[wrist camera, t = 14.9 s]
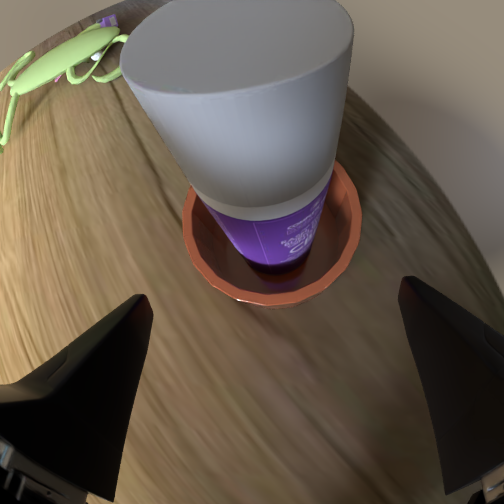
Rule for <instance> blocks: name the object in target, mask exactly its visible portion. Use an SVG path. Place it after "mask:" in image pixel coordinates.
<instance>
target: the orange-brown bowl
mask: <svg viewBox="0 0 504 504" xmlns="http://www.w3.org/2000/svg"><path fill="white" fill-rule="evenodd" d="M361 224H362V210H361V206H360V201H359V197H358V193H357V189H356V187H355V186H354V184H353V182H352V181H351V179H350V178H349V176H348V174H347V173H346V171H345V170H344V168H343V167H342V166H341V165H340V164H339V163H338V162H337V161H336V160H335V161H334V168H333V172H332V176H331V180H330V183H329V187H328V191H327V195H326V198H325V202H324V206H323V209H322V213H321V216H320V220H319V223H318V227H317V230H316V234H315V237H314V240H313V244H312V247H311V250H310V253H309V255H308V257H307V258H306V260H305V261H304V262H303V264H302V265H301V266H300V267H298V268H297V269H295V270H294V271H292V272H290V273H287V274H284V275H277V276H273V275H266V274H263V273H260V272H258V271H256V270H255V269H253V268H252V267H251V266H250V265H249V264H248V263H247V262H246V261H245V260H244V258H243V257H242V256H241V254H240V253H239V252H238V250H237V249H236V248H235V246H234V245H233V243H232V242H231V241H230V239H229V238H228V237H227V235H226V234H225V232H224V231H223V230H222V228H221V227H220V225H219V224H218V223H217V221H216V220H215V219H214V217H213V216H212V214H211V213H210V212H209V210H208V209H207V208H206V206H205V205H204V203H203V202H202V201H201V199H200V198H199V196H198V195H197V194H196V192H195V191H194V189H193V187H192V186H190V188H189V191H188V194H187V198H186V201H185V204H184V208H183V237H184V241H185V244H186V247H187V249H188V252H189V255H190V257H191V260H192V262H193V264H194V265H195V266H196V268H197V269H198V270H199V271H200V272H201V274H202V275H203V276H204V277H205V278H206V280H207V281H208V282H209V283H210V284H211V285H212V286H214V287H216V288H217V289H219V290H221V291H222V292H224V293H226V294H227V295H229V296H231V297H232V298H234V299H236V300H238V301H241V302H243V303H246V304H248V305H252V306H257V307H261V308H267V309H283V308H290V307H295V306H298V305H300V304H302V303H305V302H307V301H309V300H311V299H313V298H315V297H316V296H318V295H319V294H320V293H321V292H323V291H324V290H325V289H326V288H327V287H328V286H329V285H330V284H331V283H332V282H333V281H334V280H335V279H336V278H337V277H338V276H339V275H340V274H341V273H342V272H343V271H344V270H345V269H346V268H347V267H348V265H349V263H350V261H351V259H352V257H353V255H354V252H355V250H356V248H357V246H358V244H359V241H360V233H361Z"/></svg>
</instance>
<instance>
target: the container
mask: <svg viewBox="0 0 504 504" xmlns="http://www.w3.org/2000/svg"><path fill="white" fill-rule="evenodd" d="M353 37H354V26H353V22H352V19H351V17H350V15H349V14H348V12H347V11H346V10H345V9H344V8H343V7H342V6H341V5H340V4H339V3H338V2H337V1H335V0H173V1H171V2H169V3H168V4H166V5H164V6H163V7H161V8H159V9H158V10H156V11H155V12H154V13H152V14H151V15H150V16H148V17H147V18H146V19H145V20H144V21H142V22H141V23H140V24H139V25H138V26H137V27H136V29H135V30H134V31H133V32H132V33H131V34H130V36H129V37H128V39H127V40H126V42H125V44H124V46H123V48H122V51H121V55H120V70H121V73H122V75H123V77H124V78H125V80H126V81H127V83H128V85H129V86H130V88H131V90H132V91H133V93H134V94H135V96H136V98H137V99H138V101H139V103H140V104H141V106H142V107H143V109H144V111H145V112H146V114H147V116H148V117H149V119H150V120H151V122H152V124H153V125H154V127H155V128H156V130H157V132H158V133H159V135H160V136H161V138H162V140H163V141H164V143H165V144H166V146H167V148H168V149H169V151H170V152H171V154H172V155H173V157H174V159H175V160H176V162H177V163H178V165H179V167H180V168H181V170H182V171H183V173H184V174H185V176H186V178H187V179H188V181H189V182H190V184H191V186H192V187H193V189H194V191H195V192H196V194H197V195H198V196H199V198H200V199H201V201H202V202H203V203H204V205H205V206H206V208H207V209H208V210H209V212H210V213H211V214H212V216H213V217H214V219H215V220H216V221H217V223H218V224H219V225H220V227H221V228H222V230H223V231H224V232H225V234H226V235H227V237H228V238H229V239H230V241H231V242H232V243H233V245H234V246H235V248H236V249H237V250H238V252H239V253H240V254H241V256H242V257H243V258H244V260H245V261H246V262H247V263H248V264H249V265H250V266H251V267H252V268H253V269H255V270H256V271H258V272H260V273H263V274H266V275H273V276H277V275H284V274H287V273H290V272H292V271H294V270H295V269H297V268H298V267H300V266H301V265H302V264H303V262H304V261H305V260H306V258H307V257H308V255H309V253H310V250H311V247H312V244H313V240H314V237H315V234H316V230H317V227H318V223H319V220H320V216H321V213H322V209H323V206H324V202H325V198H326V195H327V191H328V187H329V183H330V180H331V176H332V172H333V168H334V161H335V156H336V150H337V145H338V140H339V134H340V128H341V122H342V116H343V110H344V104H345V98H346V91H347V84H348V76H349V70H350V63H351V55H352V45H353Z"/></svg>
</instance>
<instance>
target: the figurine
mask: <svg viewBox="0 0 504 504" xmlns="http://www.w3.org/2000/svg"><path fill="white" fill-rule="evenodd" d="M117 26H118V23H117V20H116V16H115V14H114V15H111V16H108V17H105V18H101V19H99V20H97V23H96V24H93V25H91V26H89V27H88V28H87V29H85V30H84V31H83V32H81V33H80V34H78V36H76V37H74V38H72V39H70V40H68V41H66V42H64V43H62V44H61V45H59V46H57V47H55V48H54V49H52V50H50V51H49V52H47V53H46V54H45V55H43V56H42V57H41V58H39V59H38V60H37V61H35V62H34V63H33V64H32V65H31V66H30V67H28V68H27V69H26V70H25V71H24V72H23V73H22V74H21V75H20V76H19V77H18V79H16V80H15V78H16V76H17V74H18V73H19V71H20V70H21V69H22V68H23V67H24V66H26V65H27V64H28V63H29V62H30V61H32V59H33V58H34V57H35V52H34V51H30V52H28V53H27V54H25V55H24V56H23V57H21V58H20V59H19V60H18V61H17V62H16V64H15V65H14V66H13V67H12V68H11V70H10V71H9V72H8V74H7V75H6V77H5V78H4V79H3V81H2V82H1V84H0V91H2V90H3V88H4V87H5V85H6V84H7V82H8V86H10V87H11V90H10V94H11V95H12V98H11V101H10V105H9V109H8V113H7V117H6V121H5V126H4V133H3V135H2V133H1V131H0V154H2V153H3V148H2V146H1V145H5V144H6V143H7V142H8V141H9V138H10V134H11V128H12V122H13V118H14V114H15V111H16V106H17V102H18V99H19V97H20V95H23V94H25V93H27V92H30V91H32V90H35V89H37V88H38V87H40V86H42V85H44V84H46V83H48V82H50V81H52V80H54V79H55V78H56V79H55V82H57V81H58V80H59V78H60V77H61V75H62V74H64V73H65V72H66V75H67V80H68V81H70V82H71V83H72V84H80V83H82V82H84V81H85V80H86V79H87V78H88V77H89V76H90V75H91V73H92V72H93V71H94V69H95V68H96V67H97V65H98V63H99V62H100V60H101V59H102V57H103V55H104V54H105V52H106V51H107V49H108V48H109V47H110V46H111V45H112V44H113V43H115V42H118V41H121V42H124V43H125V42H126V40H127V39H128V37H129V35H127V34H123V35H119V36H118V34H119V32H120V29H119V28H118V27H117ZM109 43H110V44H109ZM108 44H109V45H108ZM107 45H108V47H107V48H106V49H105V51H104V52H102V51H101V49H103V48H104V47H106V46H107ZM90 57H91V58H92V60H94V61H97V62H96V63H95V64H94V66H93V67H92V68H91V70H90V71H89V72H88V73H87V74H85V75H84V76H79V77H78V76H77V75H76V74H75V70H74V68H75V66H77V65H79V64H80V63H82V62H86V63H89V58H90ZM121 75H122V73H121V70H120V66H119V67H118V68H116V69H115V70H114V71H112V72H110V73H109V74H107V75H103V76H100V77H99V76H94V75H92V77H93V78H94V80H96V81H97V82H105V83H106V82H109V81H111V80H114V79H116V78H117V77H119V76H121Z"/></svg>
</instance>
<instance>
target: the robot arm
mask: <svg viewBox="0 0 504 504" xmlns="http://www.w3.org/2000/svg"><path fill="white" fill-rule="evenodd" d="M398 302H399V306H400V310H401V314H402V318H403V322H404V326H405V330H406V334H407V338H408V342H409V345H410V348H411V351H412V354H413V357H414V360H415V363H416V366H417V369H418V372H419V376H420V379H421V383H422V386H423V390H424V393H425V397H426V400H427V404H428V408H429V412H430V416H431V420H432V424H433V429H434V433H435V438H436V442H437V448H438V453H439V459H440V464H441V470H442V476H443V483H444V490H445V495H449V494H451V493H453V492H456V491H458V490H460V489H463V488H465V487H467V486H469V485H471V484H473V483H475V482H477V481H479V480H481V484H482V490H480V491H478V492H476V493H474V494H473V495H472V497H471V498H470V500H469V502H468V504H504V336H503V335H501V334H500V333H499V332H497V331H496V330H494V329H493V328H491V327H490V326H489V325H487V324H486V323H484V322H483V321H482V320H480V319H479V318H477V317H476V316H474V315H473V314H471V313H470V312H469V311H467V310H466V309H464V308H463V307H461V306H460V305H458V304H457V303H455V302H454V301H452V300H451V299H449V298H448V297H446V296H445V295H443V294H442V293H440V292H439V291H437V290H436V289H434V288H432V287H431V286H429V285H428V284H426V283H425V282H423V281H422V280H420V279H418V278H417V277H415V276H405V277H403V278H402V281H401V285H400V290H399V295H398ZM152 322H153V310H152V308H151V306H150V303H149V301H148V298H147V296H146V295H144V294H135V295H133V296H132V297H130V298H129V299H128V300H126V301H125V302H124V303H122V304H121V305H120V306H118V307H117V308H116V309H114V310H113V311H112V312H110V313H109V314H108V315H106V316H105V317H104V318H102V319H101V320H100V321H99V322H97V323H96V324H95V325H93V326H92V327H91V328H89V329H88V330H87V331H85V332H84V333H83V334H82V335H80V336H79V337H78V338H76V339H75V340H74V341H73V342H71V343H70V344H69V345H68V346H66V347H65V348H64V349H62V350H61V351H60V352H59V353H57V354H56V355H55V356H53V357H52V358H51V359H49V360H48V361H46V362H45V363H44V364H42V365H41V366H39V367H38V368H36V369H35V370H34V371H32V372H31V373H29V374H28V375H26V376H25V377H23V378H22V379H20V380H19V381H17V382H15V383H12V384H7V385H0V504H88V503H87V502H86V498H87V495H88V493H89V494H91V495H94V496H96V497H99V498H102V499H104V500H107V501H110V502H114V498H115V491H116V486H117V480H118V474H119V469H120V464H121V458H122V454H123V453H122V452H123V448H124V443H125V438H126V434H127V429H128V425H129V421H130V416H131V412H132V408H133V404H134V400H135V396H136V392H137V388H138V384H139V380H140V376H141V373H142V369H143V365H144V362H145V358H146V354H147V350H148V345H149V339H150V333H151V327H152Z"/></svg>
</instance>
